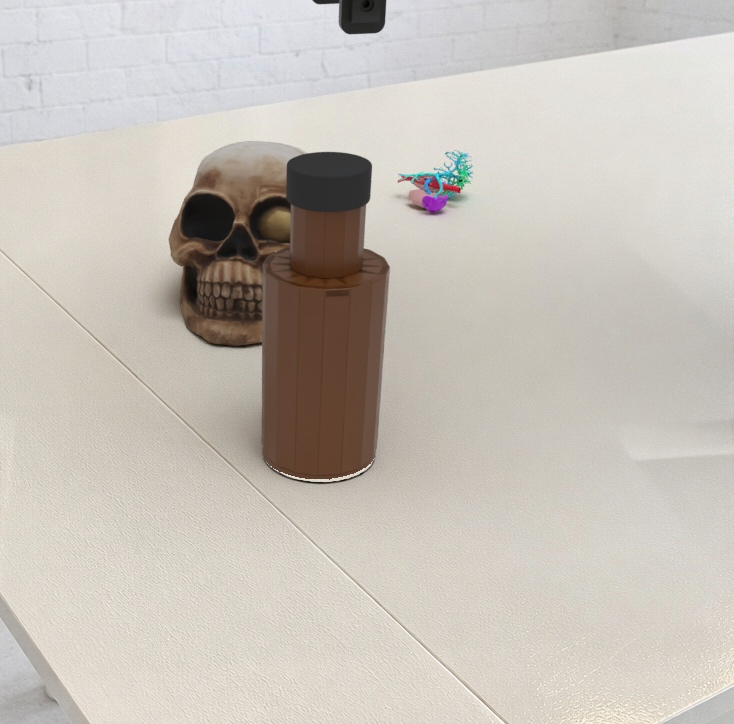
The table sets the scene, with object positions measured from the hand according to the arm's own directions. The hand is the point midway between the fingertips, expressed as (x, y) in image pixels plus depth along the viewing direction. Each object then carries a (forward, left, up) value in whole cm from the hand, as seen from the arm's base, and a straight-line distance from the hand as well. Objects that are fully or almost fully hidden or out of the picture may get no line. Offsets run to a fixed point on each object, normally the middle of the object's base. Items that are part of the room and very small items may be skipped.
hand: (344, 16), depth 60 cm
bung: (+1, 0, -12) cm, 12 cm away
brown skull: (+2, -26, -27) cm, 37 cm away
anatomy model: (-19, -48, -27) cm, 58 cm away
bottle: (+1, 0, -27) cm, 27 cm away
